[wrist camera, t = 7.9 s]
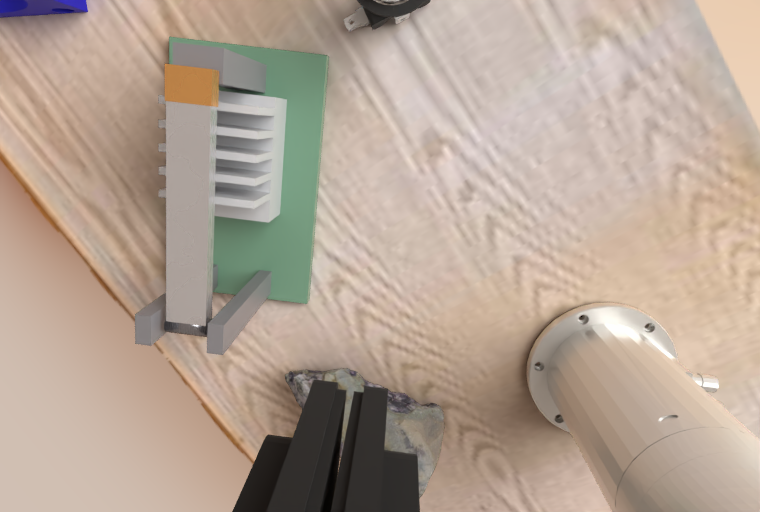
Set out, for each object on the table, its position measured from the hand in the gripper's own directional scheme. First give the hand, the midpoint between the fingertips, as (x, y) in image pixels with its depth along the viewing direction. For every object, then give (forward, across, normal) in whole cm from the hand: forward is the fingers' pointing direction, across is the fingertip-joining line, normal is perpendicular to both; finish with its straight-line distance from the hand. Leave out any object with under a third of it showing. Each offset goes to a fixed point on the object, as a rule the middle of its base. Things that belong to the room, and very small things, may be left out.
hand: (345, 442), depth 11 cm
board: (+31, +12, -1) cm, 33 cm away
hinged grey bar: (+21, +12, 0) cm, 24 cm away
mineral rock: (+31, 0, +18) cm, 36 cm away
